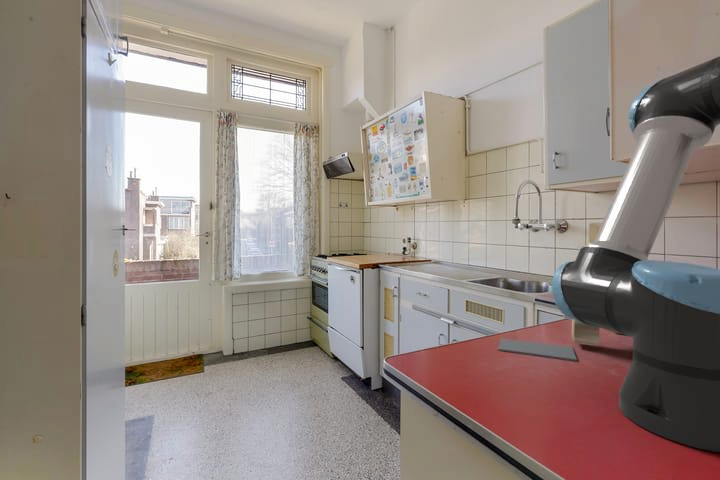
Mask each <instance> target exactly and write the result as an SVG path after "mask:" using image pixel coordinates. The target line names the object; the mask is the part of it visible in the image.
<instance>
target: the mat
mask: <svg viewBox="0 0 720 480" xmlns="http://www.w3.org/2000/svg"><path fill="white" fill-rule="evenodd" d="M497 349H498V351H501V352H507V353H514V354H521V355H528V356H535V357H536V356H537V357H541V358H542V357H543V358H544V357H545V358H551V359H558V360H564V361H565V360H566V361H572V362H573V361H574V362H577V361H578V359H577V356H576V354H575V351H574V349H573V346H567V345H559V344H558V345H557V344H550V343H542V342H534V341H527V340H519V339H511V338H510V339H509V338H503V337H501V338H500V341H499V344H498V348H497Z"/></svg>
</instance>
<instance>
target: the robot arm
mask: <svg viewBox="0 0 720 480" xmlns="http://www.w3.org/2000/svg"><path fill="white" fill-rule="evenodd" d="M628 119H629V120H630V121H629V123H628V125H629V128H630V130H631V133H632V134H633V137H634V139H635V141H636V142H637V144H636V147H635V150H634V151H633V154H632V156H631V158H630V160H629V162H628V165H627V167H626V169H625V171H624V174H623V175H622V177H621V178H622V179H621V180H620V183H619V185H618V187H617V190H616V192H615V194H614V196H613V198H612V200H611V203H610V205H609V207H608V210H607V211H606V214H605V216H604V218H603V220H602V223H601V224H600V227H599V230H598V232H597V233H596V236H595V238H594V241H593V242H590V243H588V244H586V245H583V246H582V247H581V248H580V250H579V251H578V254H577V256H576V258H575V260H572V261H568V262H565V263H564V264H561V265H560V266H558V267H557V268H556V269H555V271H554V274H553V276H552V280H551V285H550V286H551V296H552V298H554V303H555V306H556V307H557V308H558V309H559V311H560V312H561V314H563V319H567V320H568V319H569V320H572V319H574V320H577V321H579V322H581V323H583V324H585V325H593V326H596V327H599V329H604V330H607V331H610V332H612V333H615V332H616V333H615V334H617V333H619V334H620V335H622V336H626V337H627V336H628V337H631V338H632V362H631V365H629V369H628V371H627V373H626V375H625V377H624V380H623V382H622V384H621V387H620V388H619V391H618V407H619V410H620V411H621V413H622V414H623V415H624V416H625V417H626V418H628V419H629V420H630V421H631V422H633V423H634V424H636V425H638V426H639V427H641V428H643V429H645V430H647V431H649V432H651V433H653V434H655V435H658V436H660V437H663V438H664V439H668V440H670V441H673V442H676V443H679V444H682V445H685V446H687V447H688V446H689V447H693V448H696V449H700V450H703V451H704V450H705V451H709V452H714V453H720V268H716V267H711V266H706V265H701V264H695V263H687V262H676V261H669V260H655V259H653V260H652V259H651V260H649V259H648V257H649V256H650V253H651V251H652V248H653V246H654V244H655V241H656V239H657V237H658V234H659V232H660V231H661V228H662V225H663V223H664V221H665V219H666V215H667V213H668V212H669V210H670V207H671V205H672V202H673V200H674V198H675V195H676V193H677V190H678V188H679V186H680V184H681V181H682V180H683V176H684V175H685V172H686V170H687V168H688V166H689V163H690V160H691V158H692V156H693V153H694V151H695V150H698V149H700V148H701V149H702V147H704V146H706V145H707V144H708V143H709V142H710V141H711V139H712V136H713V134H714V132H715V130H716V127H717V126H718V125H720V55H719V56H716V57H714V58H712V59H709V60H707V61H705V62H702V63H700V64H697V65H695V66H693V67H690V68H688V69H685V70H682V71H680V72H678V73H675V74H673V75H671V76H667V77H665V78H662V79H659V80H658V81H656V82H655V83H654V84H652V85H649V86H648V87H646V88H644V89H642V91H640V92H639V93H638V94H637V96H636V97H635V98H634V100H633V101H632V103H631V105H630V107H629V111H628Z"/></svg>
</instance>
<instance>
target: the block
mask: <svg viewBox="0 0 720 480" xmlns="http://www.w3.org/2000/svg"><path fill="white" fill-rule="evenodd" d="M571 339H572V341H573V342H574V343H579V344H587V345H594V346H600V327H596V326H593V325H585V324H583V323H581V322H579V321H577V320H574V319H571Z"/></svg>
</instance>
